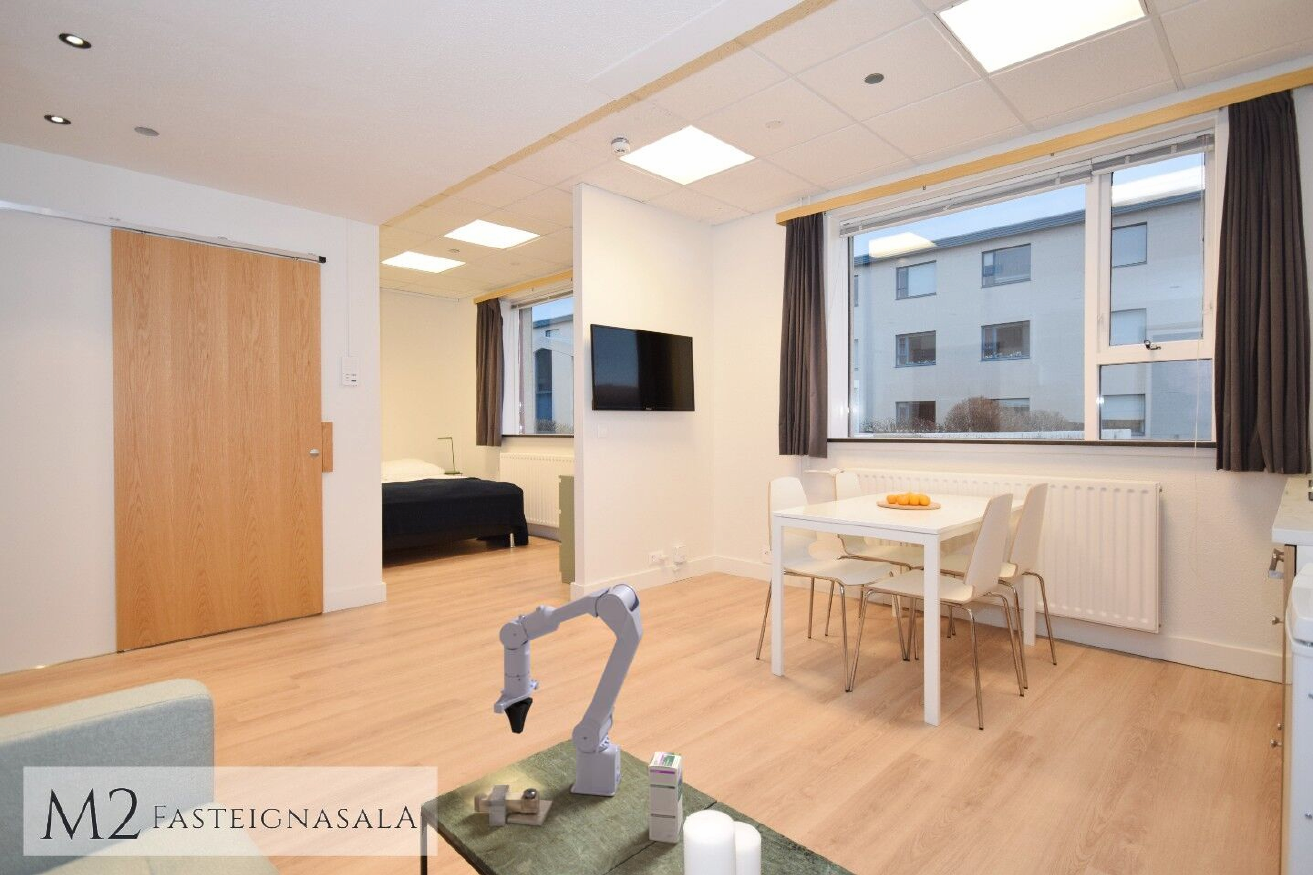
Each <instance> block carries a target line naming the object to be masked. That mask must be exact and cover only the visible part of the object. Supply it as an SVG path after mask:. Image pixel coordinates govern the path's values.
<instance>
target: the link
mask: <svg viewBox="0 0 1313 875" xmlns="http://www.w3.org/2000/svg"><path fill="white" fill-rule="evenodd" d="M491 794H492V792H479V793H476V794H475V795H474V796H473V797H474V798H473V800H474V803H473V804H474V805H473V806H474V812H476V813H489V800H490V797H491ZM540 795H541V794H540V791H538V790H537V795H536V796H534V799H527V797H525V796H524V791H523V792H522V791H521V792H518V791H517V792H509V793H508V796H507V800H506V813H511V812H521V813H537V811H538V807H539V804H540V800H541V799H540V797H541V796H540Z"/></svg>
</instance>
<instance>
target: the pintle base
mask: <svg viewBox="0 0 1313 875" xmlns="http://www.w3.org/2000/svg"><path fill="white" fill-rule="evenodd" d="M537 791H538V790H537V789H536V788H533V787H532V788H527V789H525V790H524V791H523V792H524V796H525V797H527V799H534V796H536V795H537ZM552 806H553V800H544V799H540V804H539V807H538V811H537V813H521V812H509V813H510V814H509V815H508V816H507V817H506V823H510V824H512V823H513V824H519V825H531V826H539V827H541V826H542V825H543V824H544V822H545V820H546V818H547V816H548V814H549V813H550V810H551V808H552Z"/></svg>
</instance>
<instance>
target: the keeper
mask: <svg viewBox="0 0 1313 875" xmlns="http://www.w3.org/2000/svg"><path fill="white" fill-rule="evenodd" d="M491 793H492V794H491V797H490V800H489V812H488V813H489V815H488V819H489V820H488V822H489V823H488V824H489V825H488V826H489V827H505V826H506V823H507V812H506V800H507V796H508V793H510V784H500V785H499V784H498V785H497V784H496V785H493V788H492V791H491Z"/></svg>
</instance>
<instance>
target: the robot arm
mask: <svg viewBox="0 0 1313 875" xmlns="http://www.w3.org/2000/svg"><path fill="white" fill-rule="evenodd" d="M641 602H642V601H641V599H640V598H639V596H638V594H637V591H636V590H635V588H633V587H632V585H630V584H628V583H617V584H616V585H615V586H613V587H612V586H609V587H605V588H601V589H599V590H595V591H592V592H589V593H588V594H586V595H584V596H582V597H579V598H577V599H575V600H573V601H570V602H568V603H566V604H563V605H561V606H559V607H557V608H556V607H554V606H552V605H551V606H550V605H546V606H544V604H541V605H538V606H537V607H535V610H534V611H531V612H529V613H527V614H525V612H524V613H520V614H519V615H518V616H516V617H515V618H513V619H511V620H510V621H508V622H506V623H505V624H504V625H503V626H502V627H501V628H500V630H499V632H498V634H499V635H498V636H499V641H500V643H501V644H502V645H503V679H504V680H503V684H504V685H503V688H502V689H500V694H501V695H500V696H499V698H498V700H497V701H495V703H493V713H495V714H500V715H502V714H503V713H505V714H506V716H507V719H508V722H509V725H510V729H511V732H512V733H514V734H518V735H520V734H521V733H523V731H524V729H525V723H526V720H527V716H528V713H529V711H530V708H531V706H532V704H533V703H534V699H533V697H531V695H532V694H533V692H534V690H535V691H536V690H539V688H540V686H539V683H540V681H539V680H538V679H534V678H533V679H532V678H531V641H533V640H536V639H538V638H541V637H544V636H546V635H548V634H551V633H554V632H556V631H558V629H559V628H560V625H561V623H563V622H566V621H569V620H572V619H575V618H578V617H581V616H583V615H586V614H589V615H590V616H591V617H593V618H595V619H596V618H600V619H601V620H602V622H604V624H605V625H606V626H608V628H609V629H610V630H611V631H612V632H613V634H614V635H615V638H616V640H615V643H614V644H613V647H612V650H611V653H610V654H609V657H608V659H607V662H606V665H605V667H604V670H603V672H602V675H601V677H600V680H599V682H598V685H597V687H596V689H595V691H594V694H593V697H592V699H591V702H590V704H589V705H588V707H587V709H586V710H585V713H584V714H583V717H582V718H581V720H580V721H579V723H577V724H575V726H574V728H573V729H572V732H571V739H572V743H573V744H574V746H575V747H576V748H575V749H576V752H575V754H576V758H575V759H576V762H575V763H576V778H575V781H574V783H573V785H572V787H571V788H570V792H571V793H573V794H584V795H593V796H594V795H596V796H604V797H605V796H606V797H613V796H615V794H616V792H617V789H618V787H619V784H620V781H621V778H622V774H621V746H620V745H618V744H615V743H614V744H613V743H612V742H610V737H609V732H610V730H611V729H612V727H613V723H614V720H613V718H614V717H613V714H614V711H615V704H616V701H617V700H618V696H619V694H620V691H621V689H622V687H623V684H624V682H625V680H626V677H627V674H628V672H629V670H630V668H631V665H632V662H633V660H634V658H635V654H636V653H637V650H638V648H639V645H640V643H641V640H642V638H643V634H644V632H643V631H644V630H643V622H642V615H641V604H642V603H641Z"/></svg>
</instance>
